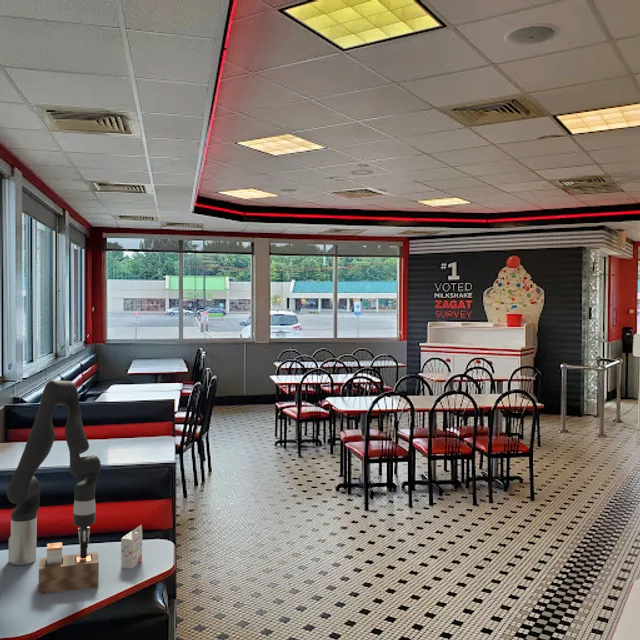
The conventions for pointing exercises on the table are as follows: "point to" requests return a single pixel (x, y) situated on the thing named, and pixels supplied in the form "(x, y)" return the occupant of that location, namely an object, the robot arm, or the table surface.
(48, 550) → the peg near
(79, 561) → the peg far
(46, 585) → the walnut block
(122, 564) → the ink cartridge box
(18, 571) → the table surface
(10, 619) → the table surface
